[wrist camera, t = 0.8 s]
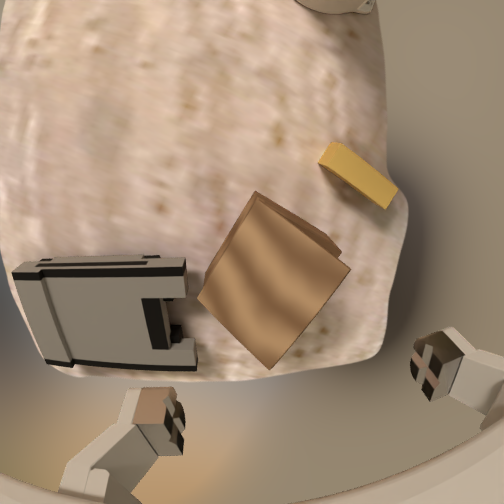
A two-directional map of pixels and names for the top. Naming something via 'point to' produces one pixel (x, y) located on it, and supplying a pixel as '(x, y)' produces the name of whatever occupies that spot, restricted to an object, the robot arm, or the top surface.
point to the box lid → (270, 284)
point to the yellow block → (358, 174)
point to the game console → (107, 311)
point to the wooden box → (295, 220)
